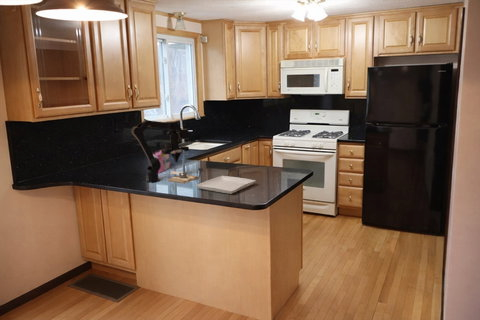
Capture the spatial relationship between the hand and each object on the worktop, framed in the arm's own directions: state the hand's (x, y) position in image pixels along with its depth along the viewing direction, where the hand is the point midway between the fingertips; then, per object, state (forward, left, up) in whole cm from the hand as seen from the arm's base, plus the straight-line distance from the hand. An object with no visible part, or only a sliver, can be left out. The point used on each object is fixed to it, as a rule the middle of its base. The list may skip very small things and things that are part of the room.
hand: (176, 162), depth 276 cm
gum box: (+14, +29, -11) cm, 34 cm away
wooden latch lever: (-3, -4, -9) cm, 10 cm away
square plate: (-7, -46, -11) cm, 48 cm away
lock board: (-3, -8, -11) cm, 14 cm away
